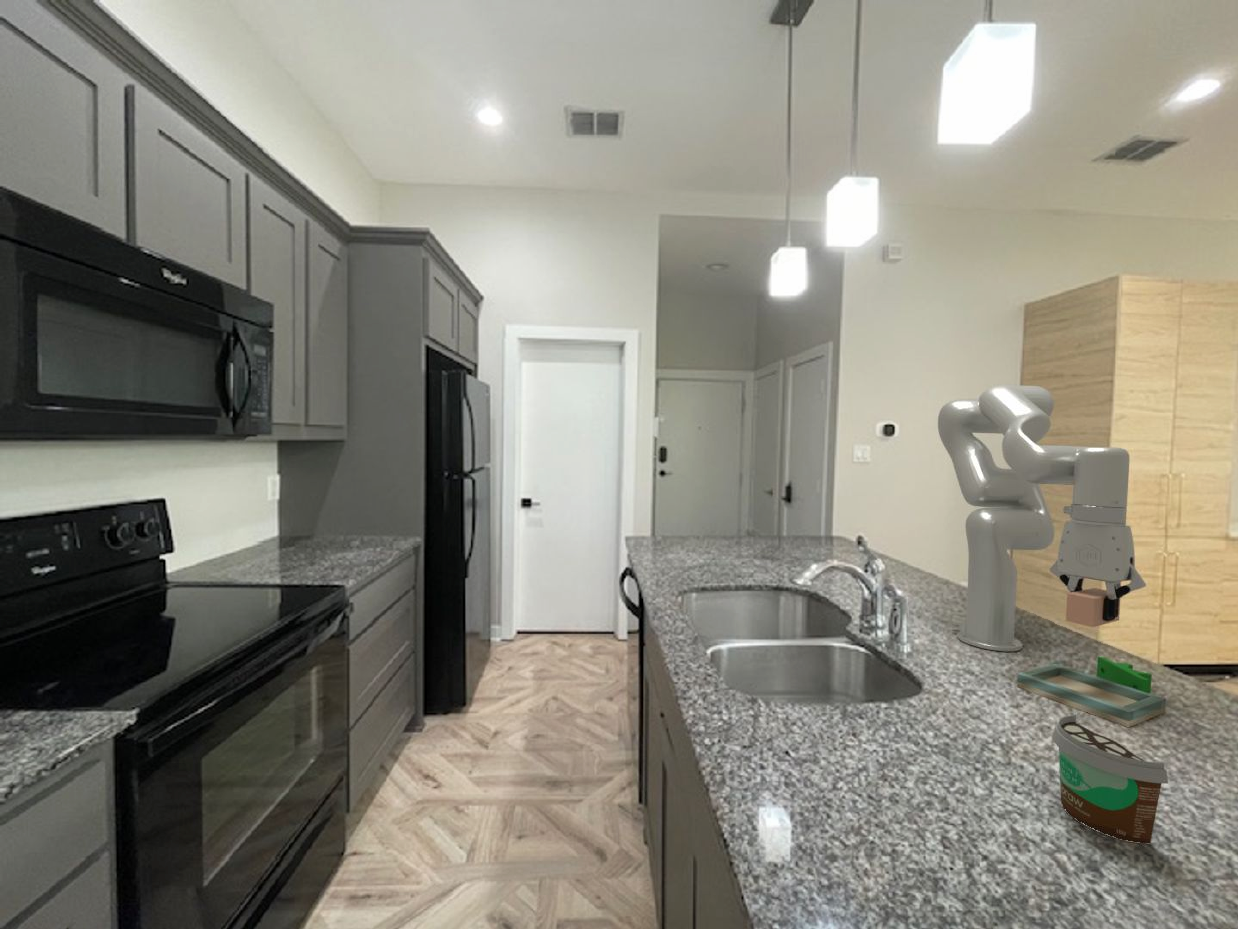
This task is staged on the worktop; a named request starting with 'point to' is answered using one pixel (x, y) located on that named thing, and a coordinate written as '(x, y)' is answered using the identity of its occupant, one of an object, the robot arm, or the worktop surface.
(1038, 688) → the nest board
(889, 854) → the worktop surface
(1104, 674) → the pipe clamp
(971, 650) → the worktop surface
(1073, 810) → the food container
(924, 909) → the worktop surface
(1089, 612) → the salmon pink rectangular block
